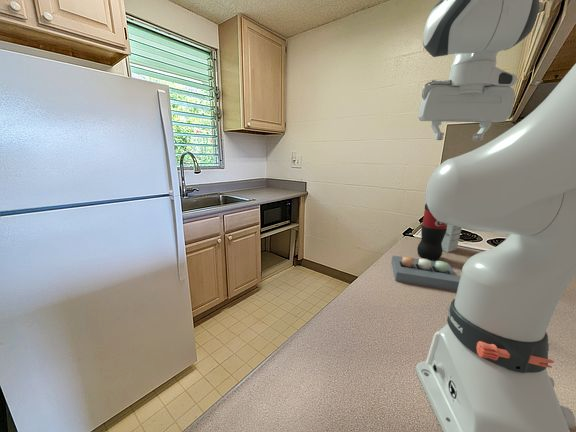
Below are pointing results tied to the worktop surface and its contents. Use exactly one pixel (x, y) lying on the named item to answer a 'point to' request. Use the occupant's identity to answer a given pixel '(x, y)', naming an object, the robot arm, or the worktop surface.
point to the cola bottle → (431, 236)
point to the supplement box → (451, 238)
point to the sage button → (441, 266)
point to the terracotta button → (407, 261)
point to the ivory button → (424, 263)
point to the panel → (425, 275)
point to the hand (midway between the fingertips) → (457, 140)
